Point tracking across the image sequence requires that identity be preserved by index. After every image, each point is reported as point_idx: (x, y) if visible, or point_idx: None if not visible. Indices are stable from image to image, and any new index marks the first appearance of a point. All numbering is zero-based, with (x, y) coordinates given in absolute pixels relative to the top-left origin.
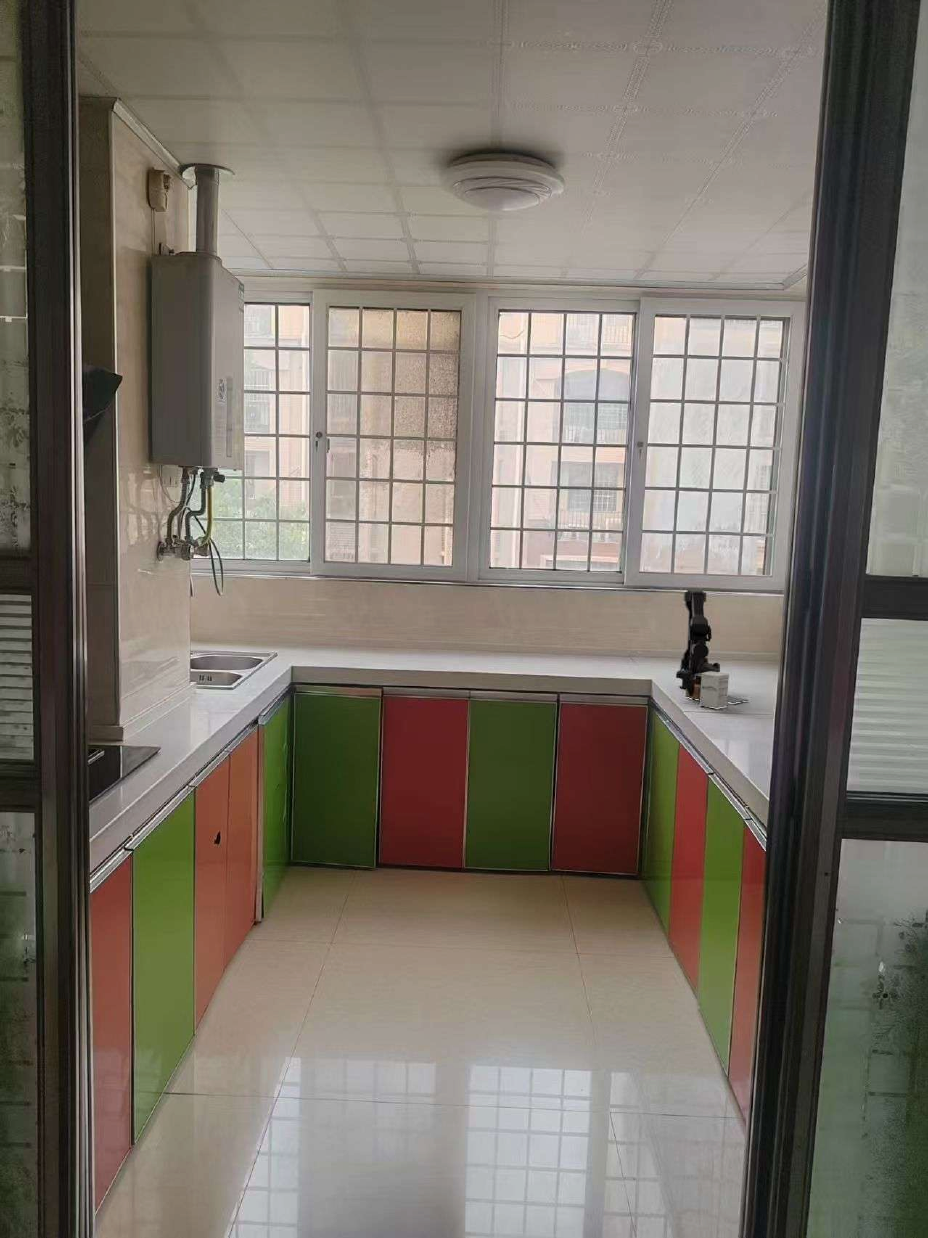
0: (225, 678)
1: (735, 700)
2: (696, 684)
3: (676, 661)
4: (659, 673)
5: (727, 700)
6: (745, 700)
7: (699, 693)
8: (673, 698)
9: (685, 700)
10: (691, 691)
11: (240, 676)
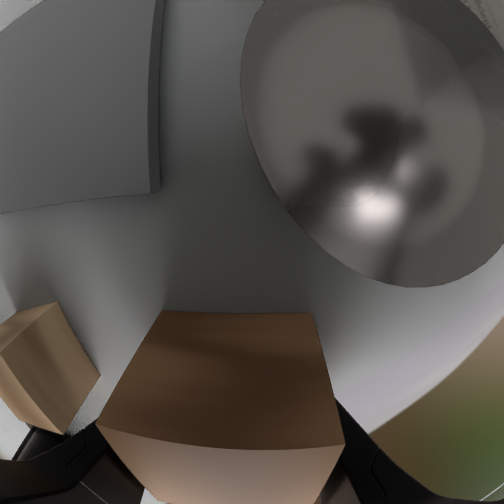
0: (490, 494)
1: (50, 24)
2: (150, 489)
3: (5, 459)
4: None
5: (100, 36)
6: (7, 27)
7: (264, 364)
8: (376, 426)
9: (392, 360)
10: (352, 424)
11: (481, 500)
